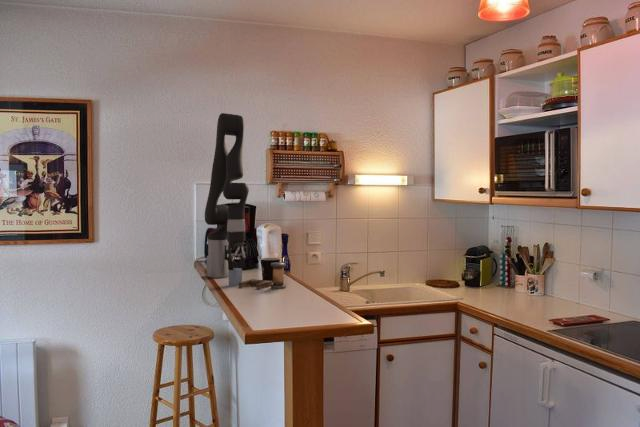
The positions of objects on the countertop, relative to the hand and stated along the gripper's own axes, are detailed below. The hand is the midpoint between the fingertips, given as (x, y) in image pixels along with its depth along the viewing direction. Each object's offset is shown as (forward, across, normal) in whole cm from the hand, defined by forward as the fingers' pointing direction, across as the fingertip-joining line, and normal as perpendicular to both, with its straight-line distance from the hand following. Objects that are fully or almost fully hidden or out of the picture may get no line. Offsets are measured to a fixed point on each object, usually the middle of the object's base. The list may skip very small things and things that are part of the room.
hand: (236, 268), depth 225 cm
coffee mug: (+7, -16, +7) cm, 19 cm away
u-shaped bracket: (+7, -1, +9) cm, 11 cm away
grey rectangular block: (+7, 0, -1) cm, 7 cm away
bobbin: (+7, -3, +18) cm, 20 cm away
